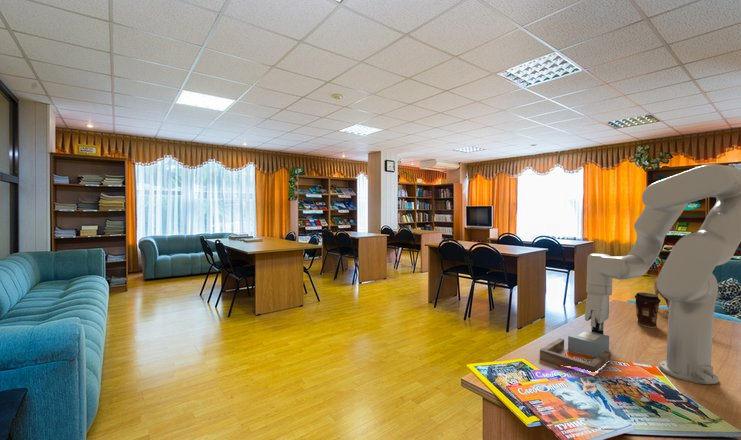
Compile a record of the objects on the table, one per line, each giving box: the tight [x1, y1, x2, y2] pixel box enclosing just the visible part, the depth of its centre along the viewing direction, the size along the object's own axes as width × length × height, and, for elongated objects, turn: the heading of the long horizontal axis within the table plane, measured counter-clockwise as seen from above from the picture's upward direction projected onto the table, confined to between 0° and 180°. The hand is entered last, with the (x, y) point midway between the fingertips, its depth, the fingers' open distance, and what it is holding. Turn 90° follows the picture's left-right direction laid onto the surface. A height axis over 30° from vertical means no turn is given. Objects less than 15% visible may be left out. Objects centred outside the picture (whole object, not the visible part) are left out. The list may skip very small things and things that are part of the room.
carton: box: [567, 328, 610, 359], centre depth 117 cm, size 11×9×5 cm
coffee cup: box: [634, 291, 661, 329], centre depth 143 cm, size 9×8×13 cm
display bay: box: [539, 337, 612, 372], centre depth 108 cm, size 16×15×3 cm
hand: (597, 340), depth 122 cm, fingers closed
